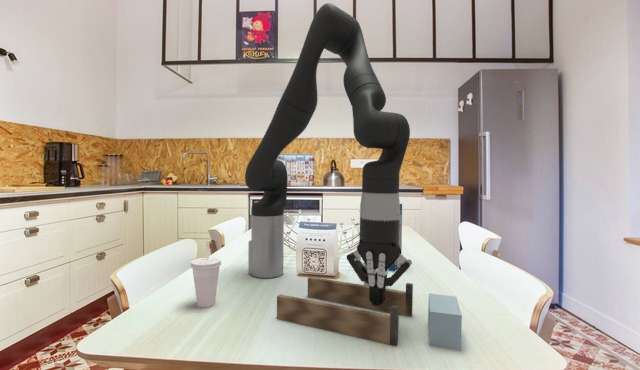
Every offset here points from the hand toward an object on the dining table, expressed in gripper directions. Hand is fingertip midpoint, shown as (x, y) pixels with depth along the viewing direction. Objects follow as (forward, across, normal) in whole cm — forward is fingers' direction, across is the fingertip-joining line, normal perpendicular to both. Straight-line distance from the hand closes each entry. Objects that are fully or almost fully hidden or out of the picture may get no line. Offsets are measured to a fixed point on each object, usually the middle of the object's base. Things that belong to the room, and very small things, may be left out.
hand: (377, 304), depth 65 cm
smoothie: (+4, -36, -8) cm, 38 cm away
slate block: (+4, +12, 0) cm, 13 cm away
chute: (+4, -6, 0) cm, 7 cm away
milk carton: (+4, -10, +40) cm, 41 cm away
